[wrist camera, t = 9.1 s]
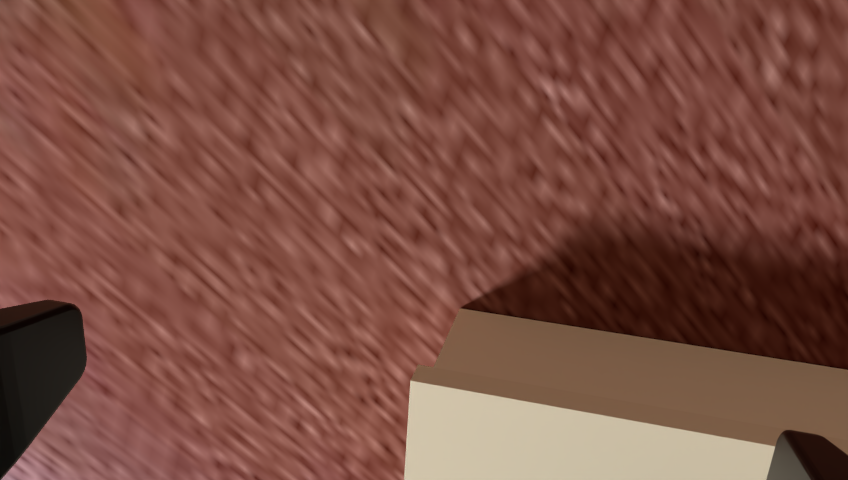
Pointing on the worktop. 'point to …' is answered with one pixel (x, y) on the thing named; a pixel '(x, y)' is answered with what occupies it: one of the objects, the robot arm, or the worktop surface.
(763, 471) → the box
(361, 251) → the worktop surface
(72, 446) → the worktop surface
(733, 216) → the worktop surface
